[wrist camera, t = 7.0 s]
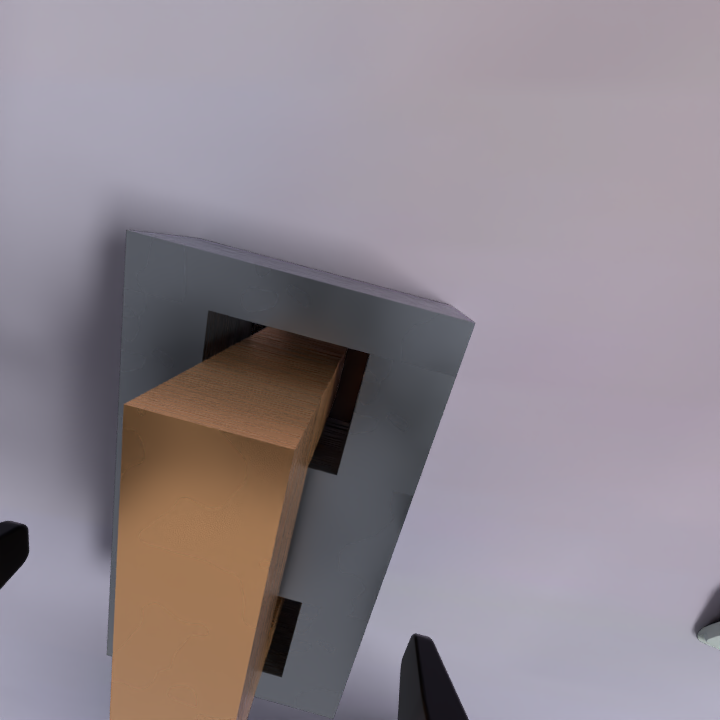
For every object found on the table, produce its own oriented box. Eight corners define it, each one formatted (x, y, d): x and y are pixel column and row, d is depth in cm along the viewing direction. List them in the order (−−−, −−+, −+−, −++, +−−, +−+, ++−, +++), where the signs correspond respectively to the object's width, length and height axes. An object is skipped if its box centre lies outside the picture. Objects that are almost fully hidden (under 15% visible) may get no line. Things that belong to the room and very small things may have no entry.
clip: (292, 574, 14) (212, 828, 8) (233, 558, 14) (106, 797, 8) (349, 342, 11) (294, 450, 5) (274, 323, 11) (123, 404, 5)
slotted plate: (344, 627, 14) (333, 718, 12) (162, 577, 15) (106, 655, 12) (452, 305, 10) (475, 323, 8) (198, 238, 10) (126, 229, 8)
